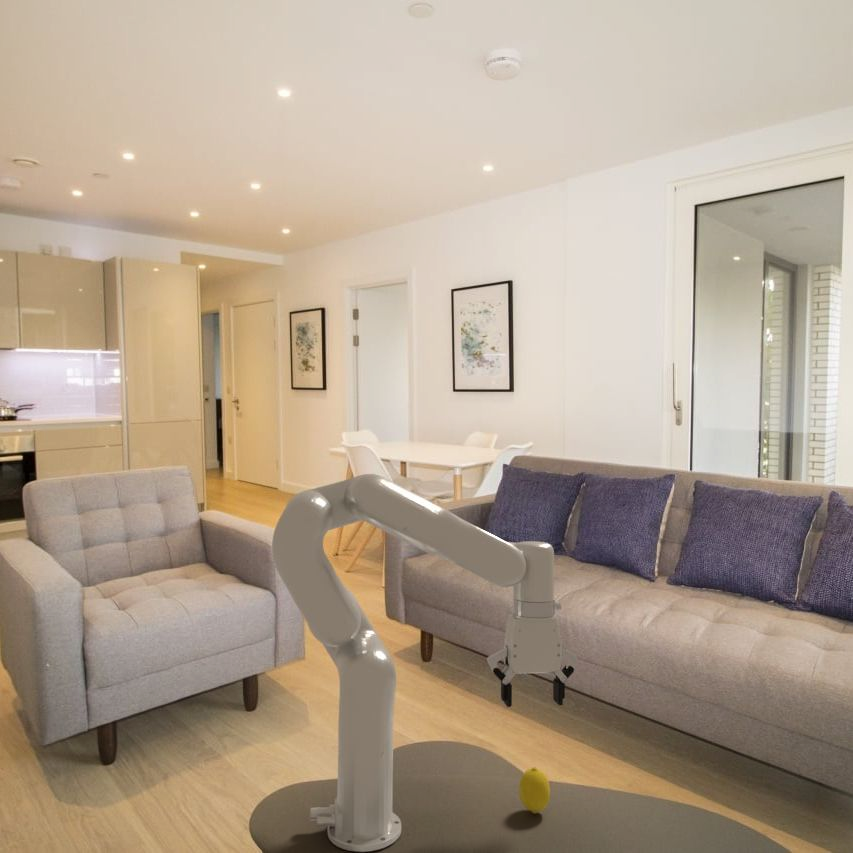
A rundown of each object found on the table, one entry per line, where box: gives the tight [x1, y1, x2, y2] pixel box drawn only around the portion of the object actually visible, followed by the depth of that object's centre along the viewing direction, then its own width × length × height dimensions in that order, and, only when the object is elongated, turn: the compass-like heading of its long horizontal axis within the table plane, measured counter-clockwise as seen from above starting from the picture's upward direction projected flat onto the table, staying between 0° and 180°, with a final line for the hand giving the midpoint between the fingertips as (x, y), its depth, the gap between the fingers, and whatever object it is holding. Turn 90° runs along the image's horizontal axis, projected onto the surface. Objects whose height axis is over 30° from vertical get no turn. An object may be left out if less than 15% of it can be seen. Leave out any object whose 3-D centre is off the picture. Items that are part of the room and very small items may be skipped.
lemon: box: [518, 766, 551, 815], centre depth 116 cm, size 6×6×8 cm
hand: (532, 703), depth 118 cm, fingers open, 9 cm apart
